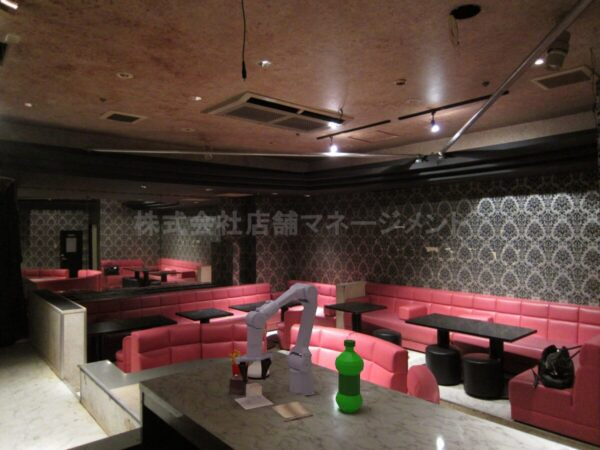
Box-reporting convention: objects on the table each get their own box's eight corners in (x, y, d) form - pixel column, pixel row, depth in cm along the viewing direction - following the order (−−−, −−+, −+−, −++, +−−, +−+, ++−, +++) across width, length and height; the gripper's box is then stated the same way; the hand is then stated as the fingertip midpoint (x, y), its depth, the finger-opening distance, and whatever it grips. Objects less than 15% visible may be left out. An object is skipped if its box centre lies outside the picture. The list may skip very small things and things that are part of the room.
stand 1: (260, 398, 164) (260, 394, 164) (273, 408, 155) (273, 404, 155) (234, 403, 159) (234, 399, 159) (245, 413, 149) (245, 409, 149)
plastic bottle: (346, 402, 161) (347, 336, 162) (368, 410, 154) (369, 341, 155) (329, 409, 154) (329, 340, 155) (351, 418, 147) (352, 345, 148)
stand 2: (297, 405, 157) (297, 401, 157) (313, 416, 148) (313, 411, 148) (271, 411, 152) (271, 406, 152) (285, 422, 142) (285, 418, 142)
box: (243, 399, 163) (244, 380, 163) (228, 398, 164) (229, 378, 164) (248, 394, 169) (249, 375, 169) (234, 392, 170) (234, 374, 170)
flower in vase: (268, 380, 186) (269, 323, 187) (242, 379, 186) (243, 322, 187) (270, 371, 199) (271, 317, 200) (246, 370, 199) (247, 317, 200)
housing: (256, 398, 160) (256, 382, 160) (261, 402, 156) (261, 386, 156) (245, 400, 157) (246, 384, 158) (250, 404, 154) (250, 388, 154)
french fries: (248, 384, 180) (249, 348, 181) (247, 391, 172) (247, 353, 172) (228, 384, 180) (228, 348, 180) (225, 391, 171) (226, 353, 172)
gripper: (240, 348, 150) (239, 387, 150) (276, 344, 158) (276, 381, 157) (233, 344, 156) (232, 381, 156) (268, 340, 164) (268, 375, 163)
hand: (254, 380), depth 157 cm, fingers open, 7 cm apart
